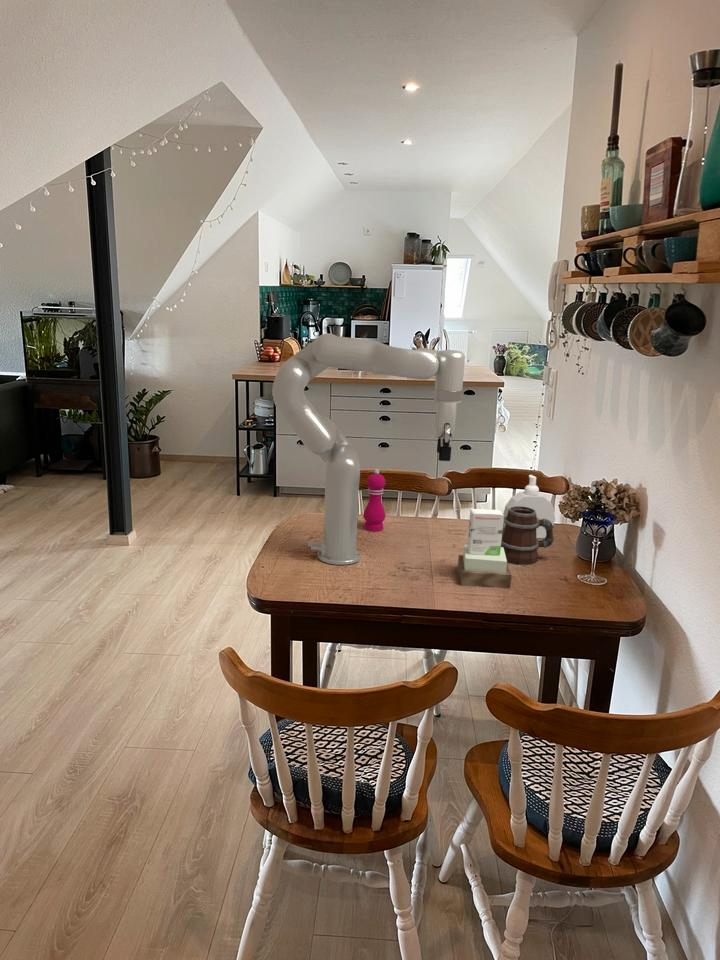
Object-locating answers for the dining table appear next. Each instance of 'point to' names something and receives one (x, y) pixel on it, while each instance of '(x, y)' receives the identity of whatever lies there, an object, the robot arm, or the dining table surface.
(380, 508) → the pepper mill
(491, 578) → the tower base
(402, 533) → the dining table surface
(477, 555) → the tower top
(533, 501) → the soap bottle
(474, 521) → the ink box
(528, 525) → the mug
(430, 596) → the dining table surface
